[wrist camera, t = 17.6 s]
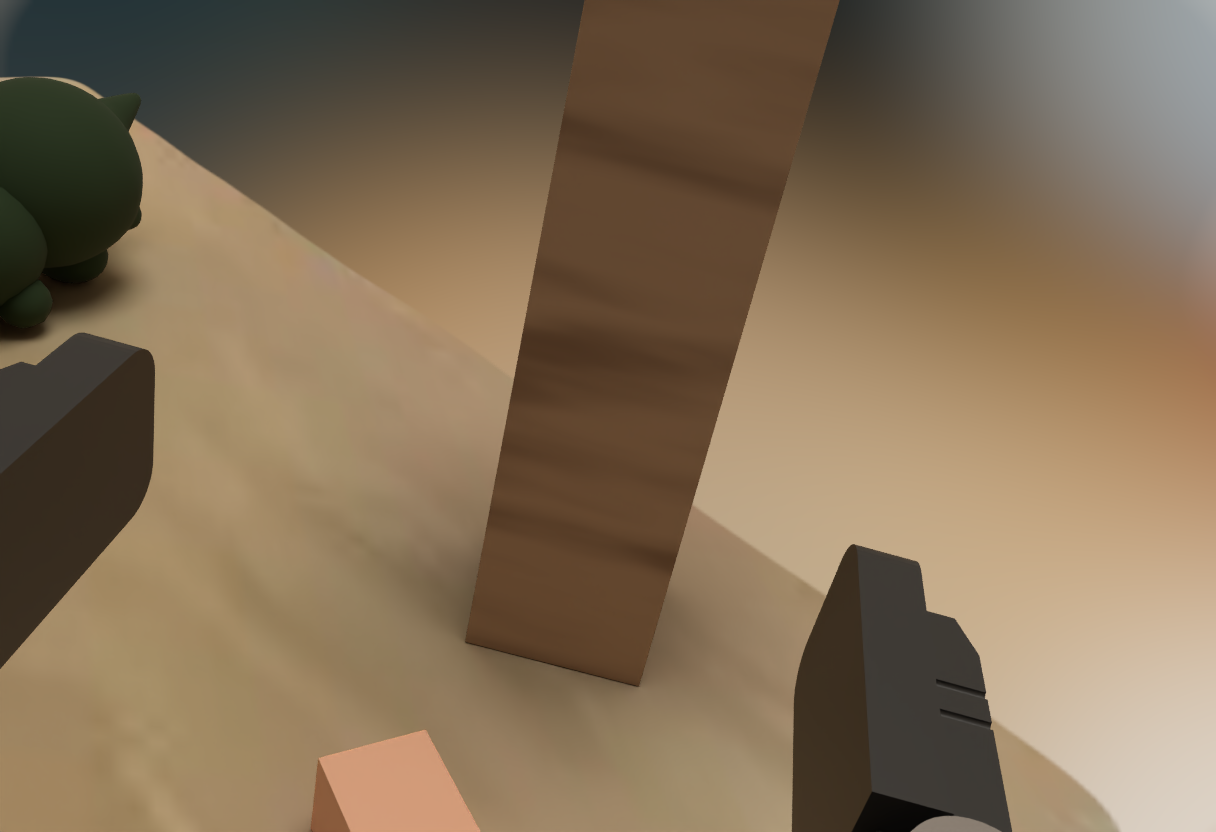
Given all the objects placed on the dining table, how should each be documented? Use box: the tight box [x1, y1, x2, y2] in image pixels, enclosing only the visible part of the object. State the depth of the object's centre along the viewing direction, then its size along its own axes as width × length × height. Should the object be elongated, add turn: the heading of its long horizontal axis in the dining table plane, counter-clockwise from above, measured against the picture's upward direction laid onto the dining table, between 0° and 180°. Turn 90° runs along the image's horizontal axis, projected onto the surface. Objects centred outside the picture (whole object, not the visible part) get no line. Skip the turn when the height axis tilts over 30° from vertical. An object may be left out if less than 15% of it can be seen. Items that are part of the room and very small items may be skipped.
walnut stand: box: [465, 0, 839, 686], centre depth 39 cm, size 9×10×37 cm
